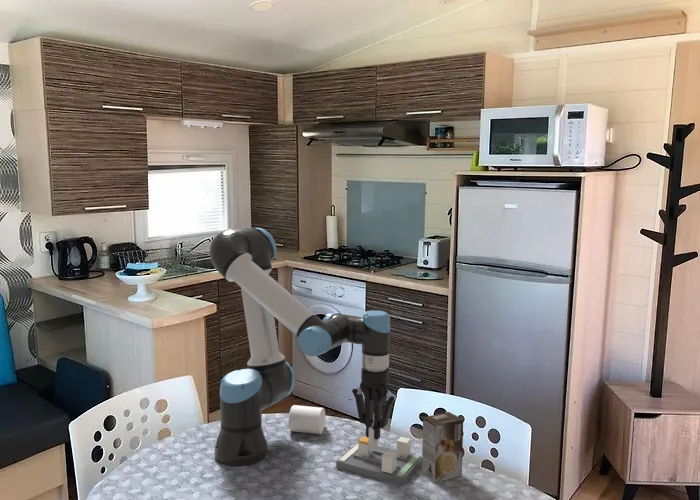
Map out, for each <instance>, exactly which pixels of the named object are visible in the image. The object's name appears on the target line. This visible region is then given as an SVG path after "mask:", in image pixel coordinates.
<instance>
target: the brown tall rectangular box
mask: <svg viewBox="0 0 700 500" xmlns="http://www.w3.org/2000/svg"><path fill="white" fill-rule="evenodd" d="M463 437H464V419H463V418H461V417H460V416H457V415H456V414H454V413H452V412H450V411H447V412H442V413H437V414H432V415H428V416H424V417H422V448H421V451H422V452H421V453H422V454H421V457H422V465H421V474H422V475H424V476H426V477H427V478H428V479H429V480H430V481H432V482H433V483H434V484H437V483H440V482H444V481H448V480H451V479H454V478H457V477H458V478H459V477H461V476H462V475H463V443H464V442H463V440H464V438H463Z"/></svg>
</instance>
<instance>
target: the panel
mask: <svg viewBox="0 0 700 500" xmlns="http://www.w3.org/2000/svg"><path fill="white" fill-rule="evenodd" d="M386 451H390V452H394V453H396V451H397V449H392V448H388V447H385V446H380V445H377V448H376V449H375V450H374V451H372V454H371V455H370V456H369V457H365V456H361V455H358V442H356V443H355V444H353V446H352V447H350V448H349V449H348V450H347V451H346V452H345V453H344V454H342V455H341V456H340V457H338V459H337V460H336V461H335V464H336V465H335V466H336V467H335V468H336V469H340V470H344V471H347V472H350V473H354V474H357V475H361V476H365V477H369V478H372V479H376V480H379V481H384V482H387V483H391V484H393V485H397V486H401V487H404V486H405V485H406V484H407V482H408V481H409V480H411V478H412V476H413V475H414V474H416V471H417V470H418V469H419V468H420V467H422V455H416V454H413V453H410V455H409V456H408V457H407V458H406V457H402V456H398V455H397V465H396V470H395V471H394V472H393V473H392V474H391V473H387V472H384V471H382V455H383V454H384V453H385V452H386Z"/></svg>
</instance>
